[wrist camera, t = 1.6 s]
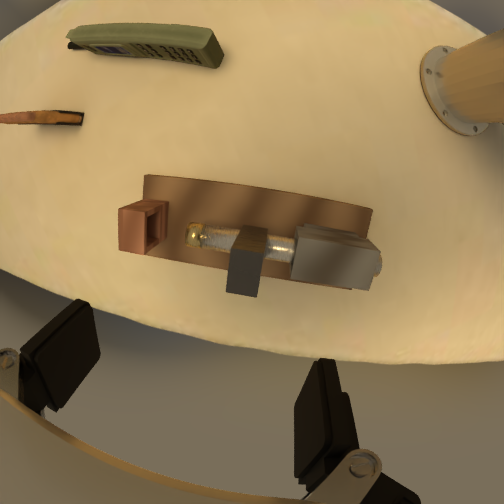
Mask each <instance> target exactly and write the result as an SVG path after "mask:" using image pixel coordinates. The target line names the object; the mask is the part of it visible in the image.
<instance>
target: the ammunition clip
mask: <svg viewBox="0 0 504 504" xmlns="http://www.w3.org/2000/svg"><path fill="white" fill-rule="evenodd" d="M83 116H84V113H81V112H72V111H62V110H53V111H46V110H43V111H27V112H15V113H7V114H0V123H5V124H54V125H80V126H81V125H82V120H83Z"/></svg>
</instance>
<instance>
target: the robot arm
mask: <svg viewBox="0 0 504 504" xmlns="http://www.w3.org/2000/svg"><path fill="white" fill-rule="evenodd" d="M420 74H421V82H422V86H423V90H424V92H425V95H426V97H427V100H428V102H429V103H430V105H431V107H432V109H433V110H434V112H435V113H436V115H437V116H438V117H439V118H440V119H441V120H442V122H443V123H444V124H446V125H447V126H448V127H449V128H450V129H452V130H454V131H455V132H457V133H459V134H462V135H469V136H470V135H478V134H481V133H482V132H483V131H485V130H486V128H487V127H488V125H489V123H491V122H498V123H500V122H501V123H502V124H503V125H504V29H502V30H499V31H497V32H494V33H492V34H489V35H487V36H485V37H483V38H480V39H478V40H476V41H474V42H472V43H470V44H468V45H465V46H463V47H461V48H459V49H455V48H453V47H449V46H437V47H434V48H432V49H431V50H429V51H428V52H427V53H426V54H425V56H424V57H423V59H422V63H421V71H420ZM20 351H21V353H20V354H18V352H17V351H16V350H14V349H12V348H4V349H1V350H0V504H421V501H420V498H419V497H418V495H417V494H415V493H414V492H413V491H411V490H409V489H407V488H406V487H404V486H403V485H401V484H399V483H398V482H396V481H395V480H393V479H391V478H390V477H388V476H386V475H385V474H384V473H382V472H381V470H382V463H381V460H380V458H379V457H378V456H377V455H376V454H375V453H374V452H372V451H370V450H367V449H360V448H359V443H358V438H357V433H356V428H355V422H354V417H353V413H352V408H351V403H350V398H349V396H348V394H347V393H346V392H342V391H341V386H340V381H339V376H338V371H337V367H336V362H335V360H334V359H326V358H320V359H319V360H318V361H314V363H313V365H312V367H311V369H310V372H309V374H308V376H307V378H306V381H305V383H304V385H303V387H302V390H301V392H300V394H299V396H298V398H297V400H296V402H295V406H294V476H295V478H299V483H298V484H306V490H307V491H308V493H307V494H306V495H305V496H304V497H302V498H301V499H300V500H299V499H287V498H278V497H267V496H258V495H250V494H243V493H237V492H231V491H225V490H219V489H214V488H210V487H205V486H201V485H196V484H192V483H189V482H185V481H181V480H178V479H174V478H171V477H167V476H164V475H161V474H158V473H155V472H152V471H149V470H146V469H144V468H141V467H138V466H135V465H133V464H130V463H128V462H126V461H123V460H121V459H118V458H116V457H114V456H112V455H109V454H107V453H105V452H103V451H101V450H99V449H96V448H94V447H93V446H91V445H89V444H87V443H85V442H83V441H81V440H79V439H77V438H76V437H74V436H72V435H70V434H68V433H67V432H65V431H63V430H62V429H60V428H58V427H57V426H55V425H54V424H52V423H50V422H49V421H47V420H46V419H45V413H44V408H45V406H46V405H47V407H48V408H50V409H51V410H53V411H55V412H57V411H58V409H59V408H63V407H64V405H65V404H66V403H67V401H68V400H69V398H70V397H71V396H72V394H73V393H74V392H75V390H76V389H77V388H78V386H79V385H80V384H81V382H82V381H83V380H84V378H85V377H86V376H87V374H88V373H89V372H90V370H91V369H92V368H93V367H94V365H95V364H96V363H97V361H98V360H99V358H100V354H101V353H100V348H99V343H98V338H97V333H96V327H95V321H94V315H93V309H92V307H91V306H90V304H89V303H88V302H86V301H83V300H81V299H76V300H75V301H73V302H72V303H71V304H70V305H69V306H67V307H66V308H65V309H64V310H63V311H61V312H60V313H59V314H58V315H57V316H56V317H54V318H53V319H52V320H51V321H50V322H49V323H48V324H46V325H45V326H44V327H43V328H42V329H41V330H40V331H39V332H38V333H36V334H35V335H34V336H33V337H32V338H31V339H30V340H29V341H28V342H27V343H26V344H25V345H23V346H22V347H21V348H20Z"/></svg>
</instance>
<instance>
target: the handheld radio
mask: <svg viewBox="0 0 504 504" xmlns="http://www.w3.org/2000/svg"><path fill="white" fill-rule="evenodd" d="M66 38H69V39H70V41H71V42H69V44H68V49H81V48H85V49H87V50H89V51H91V52H93V53H95V54H105V55H125V56H135V57H136V56H140V57H149V58H158V59H165V60H172V61H179V62H185V63H190V64H196V65H201V66H206V67H210V68H218V67H219V66H220V64H221V61H222V59H223V57H224V53H223V51H222V49H221V47H220V45H219V43H218V41H217V39H216V37H215V35H214V33H213V31H212V30H211V29H209V28H203V27H196V26H188V25H179V24H171V25H169V24H153V23H111V24H95V25H84V26H78V27H77V28H76V29H73V30H70V31H69V32H68V34H67V36H66Z"/></svg>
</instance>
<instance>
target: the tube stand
mask: <svg viewBox="0 0 504 504" xmlns="http://www.w3.org/2000/svg"><path fill="white" fill-rule="evenodd" d="M372 212H373V210H372V209H370V208H366V207H362V206H357V205H353V204H348V203H343V202H338V201H334V200H329V199H324V198H318V197H313V196H308V195H302V194H297V193H291V192H285V191H279V190H273V189H267V188H260V187H254V186H247V185H240V184H233V183H225V182H217V181H209V180H200V179H191V178H182V177H171V176H160V175H144V186H143V200H140V201H138V202H135V203H132V204H130V205H127V206H124V207H122V208H119V209H118V240H119V250H120V251H125V252H130V253H135V254H140V255H148V256H153V257H158V258H164V259H169V260H174V261H180V262H185V263H191V264H196V265H202V266H207V267H213V268H219V269H224V270H228V268H229V259H230V253H227V252H221V251H215V250H209V249H203V248H202V249H200V248H194V247H188V246H186V244H185V234H186V229H187V226H188V224H189V222H197V223H203V224H206V225H213V226H220V227H226V228H232V229H239V230H241V228H242V226H243V225H249V226H255V227H262V228H268V233H267V234H270V235H276V236H282V237H288V238H294V239H297V240H298V242H297V247H296V251H295V256H294V261H293V263H287V262H281V261H275V260H269V259H263V264H262V270H261V276H266V277H272V278H278V279H284V280H290V281H296V282H303V283H309V284H316V285H322V286H329V287H336V288H342V289H349V290H352V288H354V289H360V290H367V291H369V288H370V285H371V282H372V279H373V276H374V273H375V270H376V266H377V263H378V260H379V256H380V253H381V252H380V251H379V250H378V249H377V247H376V246H375V245H374V244H373V243H372V242H371V241H370V240H369V239H366V237H367V233H368V229H369V225H370V221H371V216H372Z"/></svg>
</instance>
